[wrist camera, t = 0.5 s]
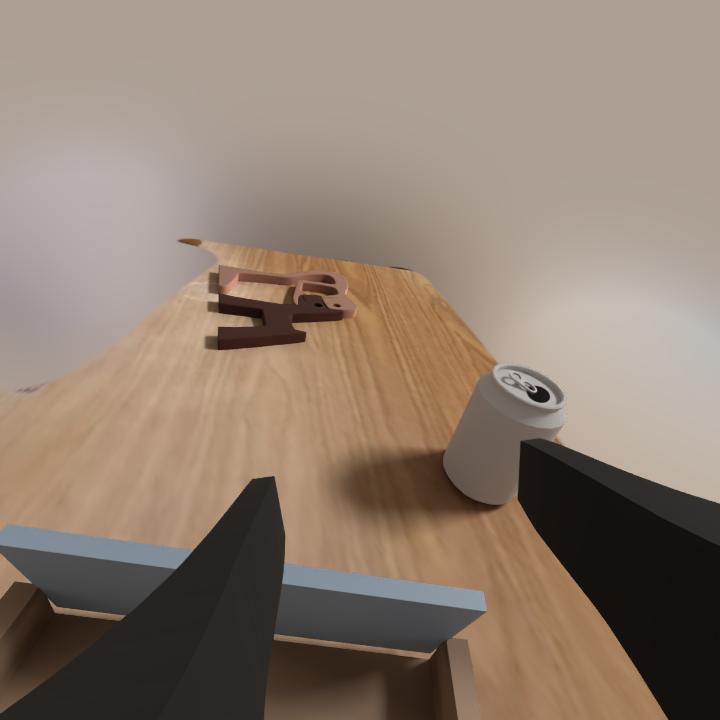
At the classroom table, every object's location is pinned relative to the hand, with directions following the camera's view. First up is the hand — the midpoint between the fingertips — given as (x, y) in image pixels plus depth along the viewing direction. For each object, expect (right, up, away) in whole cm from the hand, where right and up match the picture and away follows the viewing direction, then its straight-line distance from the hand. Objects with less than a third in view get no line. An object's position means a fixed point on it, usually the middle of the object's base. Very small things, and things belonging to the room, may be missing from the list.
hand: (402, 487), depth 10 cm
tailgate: (-7, -12, +10) cm, 17 cm away
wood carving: (-12, +12, +50) cm, 53 cm away
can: (+10, -8, +26) cm, 29 cm away
